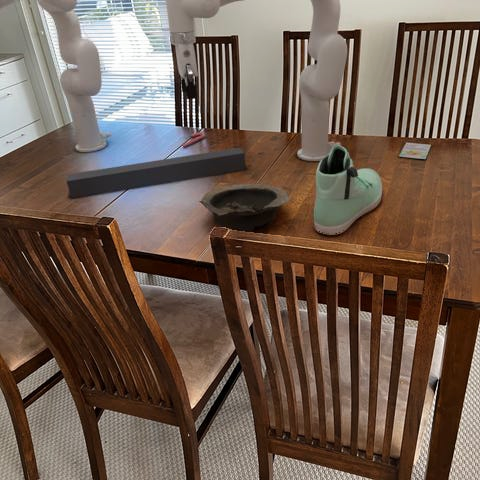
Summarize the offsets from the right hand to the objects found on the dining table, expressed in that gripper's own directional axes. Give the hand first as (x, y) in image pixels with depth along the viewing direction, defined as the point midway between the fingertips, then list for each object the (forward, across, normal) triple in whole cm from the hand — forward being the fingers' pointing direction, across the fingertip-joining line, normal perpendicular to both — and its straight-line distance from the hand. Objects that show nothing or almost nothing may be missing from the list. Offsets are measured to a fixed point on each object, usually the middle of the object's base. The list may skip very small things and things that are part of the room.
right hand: (189, 94), depth 154 cm
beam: (+28, 0, +13) cm, 31 cm away
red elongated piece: (+28, +34, -4) cm, 44 cm away
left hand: (-2, +19, +72) cm, 75 cm away
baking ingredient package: (+27, -12, -77) cm, 83 cm away
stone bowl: (+28, -38, -7) cm, 47 cm away
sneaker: (+27, -42, -37) cm, 63 cm away
